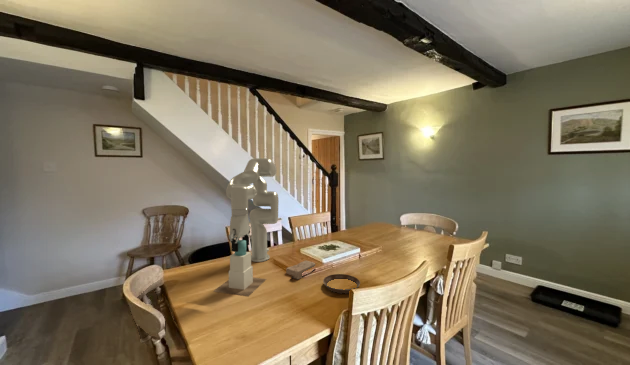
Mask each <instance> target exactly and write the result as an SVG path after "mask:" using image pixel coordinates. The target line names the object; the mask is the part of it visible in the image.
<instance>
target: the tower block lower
mask: <svg viewBox="0 0 630 365" xmlns="http://www.w3.org/2000/svg"><path fill="white" fill-rule="evenodd" d="M253 268H254V266H253V265H251V267H250V268H248V269H247V270H246V271H244V272H238V271H230V269H229V270H228V280H229V288H235V289H242V290H245V289H246V288H247V287H248V286H249V285H250V284H251V283H253V277H254V274H253V273H254V272H253V271H254V270H253Z"/></svg>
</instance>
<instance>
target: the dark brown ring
mask: <svg viewBox="0 0 630 365" xmlns="http://www.w3.org/2000/svg"><path fill="white" fill-rule="evenodd" d="M334 279H348V280H351V281H353V282H355V283H356V284H357V287H356V288H357V289H358V288H359V287H360V285H361V281H360V279H359V278H357V277H355V276H353V275H351V274H345V273H335V274H334V273H333V274H330V275H327V276H325V277H324V278H323V280H322V281H323V284H324V286H325V287H326V288H327V289H328V291H330V290H331V292H332V291H333V292H332V293H335V292H337V293H336V294H342V293H345V294H350V293H349V291H350V290H351V289H352V288H351V289H345V290H343V289H335V288H331V287H329V286H327V283H328V282H329V281H331V280H334ZM353 289H355V288H353Z"/></svg>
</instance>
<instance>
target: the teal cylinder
mask: <svg viewBox="0 0 630 365" xmlns="http://www.w3.org/2000/svg"><path fill="white" fill-rule="evenodd" d="M237 243H238V252H234V253H235V255H236V256H243V255H246V252H247V245H246V240H243V239H238V242H237Z"/></svg>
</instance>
